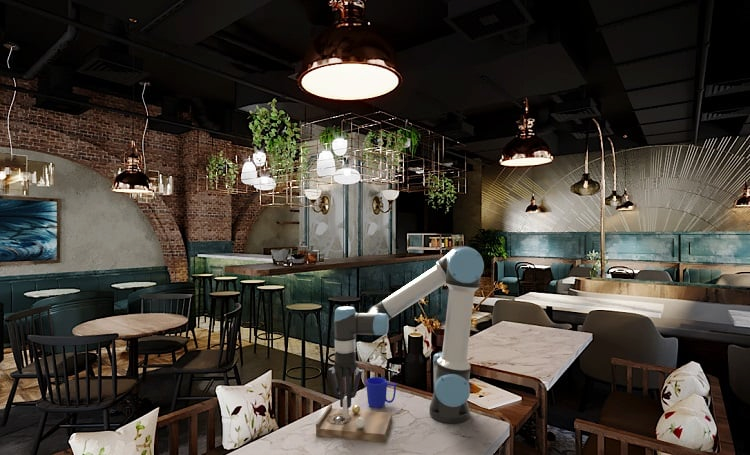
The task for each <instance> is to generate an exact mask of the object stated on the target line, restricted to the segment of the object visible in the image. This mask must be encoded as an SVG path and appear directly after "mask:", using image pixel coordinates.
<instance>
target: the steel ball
mask: <svg viewBox="0 0 750 455" xmlns="http://www.w3.org/2000/svg"><path fill="white" fill-rule="evenodd" d="M334 421H335V422H342V418H341V417H336V418H335V419H334Z"/></svg>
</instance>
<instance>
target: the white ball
mask: <svg viewBox="0 0 750 455" xmlns="http://www.w3.org/2000/svg"><path fill="white" fill-rule="evenodd" d="M355 425H356V427H357V428H359V429H361V428H363V427H364V426H365V420H364V419H363V418H361V417H359V418H357V419H356V421H355Z"/></svg>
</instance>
